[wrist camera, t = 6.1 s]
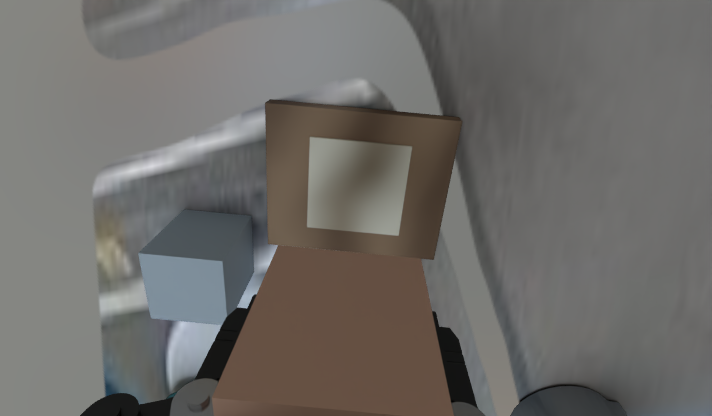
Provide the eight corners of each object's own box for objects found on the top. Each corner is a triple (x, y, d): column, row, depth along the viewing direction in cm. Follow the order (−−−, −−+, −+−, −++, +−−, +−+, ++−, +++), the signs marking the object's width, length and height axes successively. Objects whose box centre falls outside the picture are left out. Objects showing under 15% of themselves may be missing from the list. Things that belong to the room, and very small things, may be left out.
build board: (458, 117, 24) (463, 122, 22) (431, 250, 28) (433, 261, 27) (270, 99, 24) (264, 103, 22) (272, 235, 28) (267, 245, 27)
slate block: (252, 215, 28) (222, 261, 22) (254, 271, 30) (227, 325, 24) (184, 209, 27) (138, 253, 22) (191, 265, 30) (151, 318, 24)
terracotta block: (420, 258, 13) (455, 420, 8) (401, 361, 15) (417, 544, 10) (278, 245, 13) (211, 397, 8) (279, 350, 15) (227, 526, 10)
